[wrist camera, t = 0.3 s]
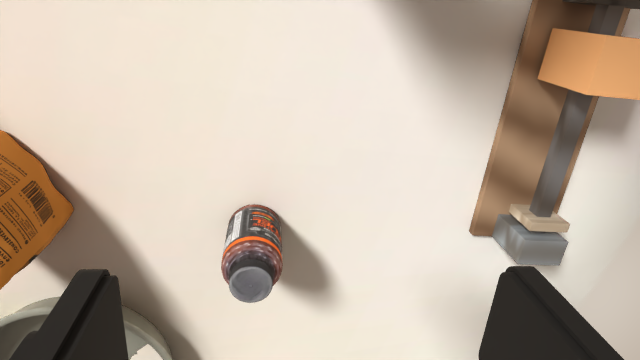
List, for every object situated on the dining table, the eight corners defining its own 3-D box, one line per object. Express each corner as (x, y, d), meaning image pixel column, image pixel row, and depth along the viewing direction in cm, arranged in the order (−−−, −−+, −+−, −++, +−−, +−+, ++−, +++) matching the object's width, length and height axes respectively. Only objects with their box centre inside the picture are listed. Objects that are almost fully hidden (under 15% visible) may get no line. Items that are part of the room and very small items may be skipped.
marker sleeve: (552, 28, 44) (606, 35, 37) (606, 34, 44) (669, 42, 37) (537, 78, 45) (586, 94, 39) (589, 84, 46) (646, 100, 39)
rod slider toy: (539, -24, 43) (587, -27, 36) (629, -12, 44) (691, -12, 38) (469, 231, 54) (496, 263, 47) (543, 234, 55) (579, 266, 49)
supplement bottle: (290, 215, 50) (296, 274, 40) (265, 255, 52) (265, 321, 42) (243, 193, 48) (237, 248, 38) (218, 235, 50) (206, 298, 40)
